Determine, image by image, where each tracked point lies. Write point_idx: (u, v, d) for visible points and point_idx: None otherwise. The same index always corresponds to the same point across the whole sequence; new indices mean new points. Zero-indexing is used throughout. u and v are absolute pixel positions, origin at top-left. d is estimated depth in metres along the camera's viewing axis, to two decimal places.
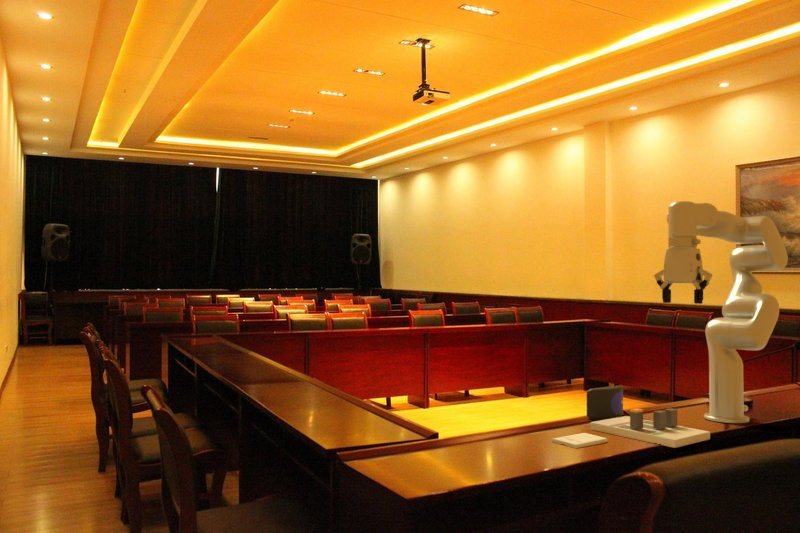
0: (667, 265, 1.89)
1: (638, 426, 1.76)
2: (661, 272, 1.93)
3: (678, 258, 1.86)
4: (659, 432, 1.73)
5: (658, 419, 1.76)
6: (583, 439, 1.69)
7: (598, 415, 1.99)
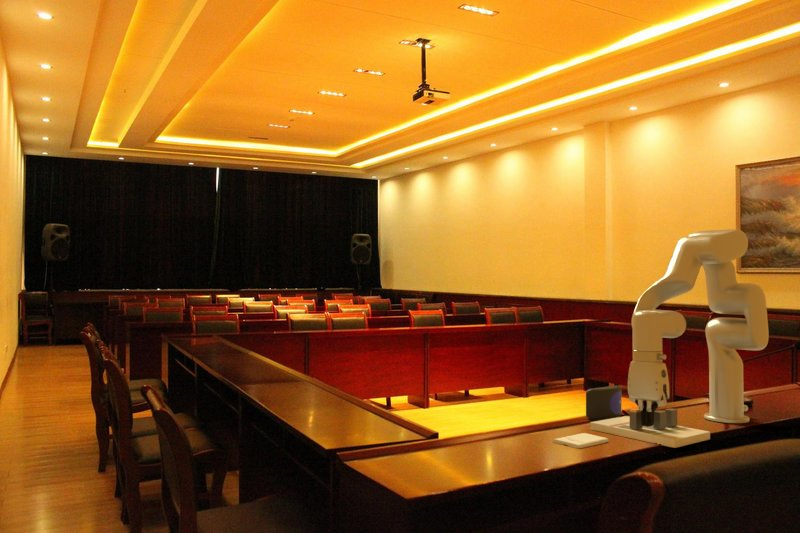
0: (631, 379, 1.76)
1: (638, 426, 1.76)
2: None
3: (643, 373, 1.73)
4: (659, 432, 1.73)
5: (658, 419, 1.76)
6: (585, 439, 1.69)
7: (597, 415, 1.99)
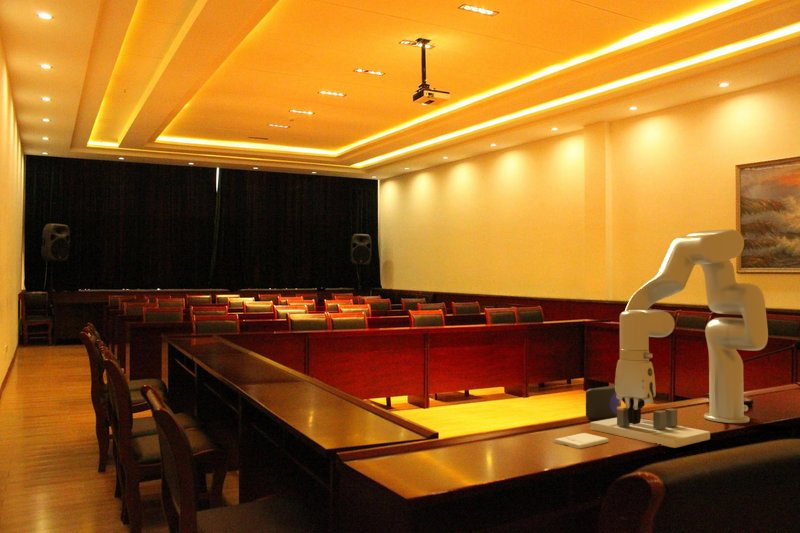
0: (618, 377, 1.79)
1: (625, 423, 1.79)
2: None
3: (629, 372, 1.76)
4: (659, 432, 1.73)
5: (658, 419, 1.76)
6: (585, 439, 1.69)
7: (597, 415, 1.99)
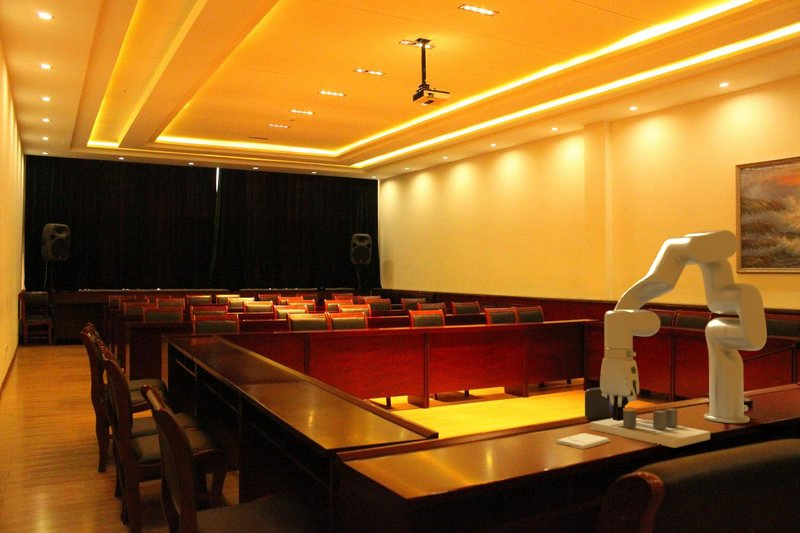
0: (603, 375, 1.83)
1: (631, 425, 1.78)
2: None
3: (613, 370, 1.80)
4: (659, 432, 1.73)
5: (658, 419, 1.76)
6: (587, 440, 1.68)
7: (596, 415, 1.99)
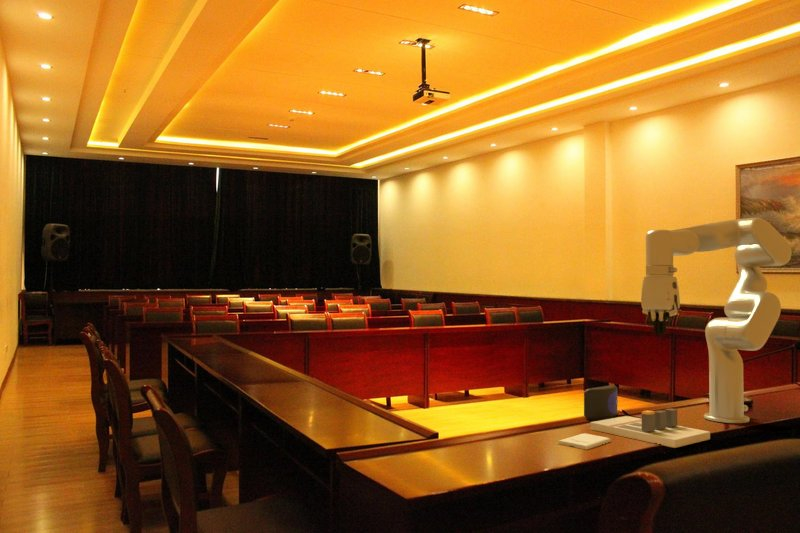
0: (645, 292, 1.91)
1: (650, 428, 1.73)
2: None
3: (655, 286, 1.88)
4: (659, 432, 1.73)
5: (658, 419, 1.76)
6: (589, 440, 1.68)
7: (595, 415, 1.99)
